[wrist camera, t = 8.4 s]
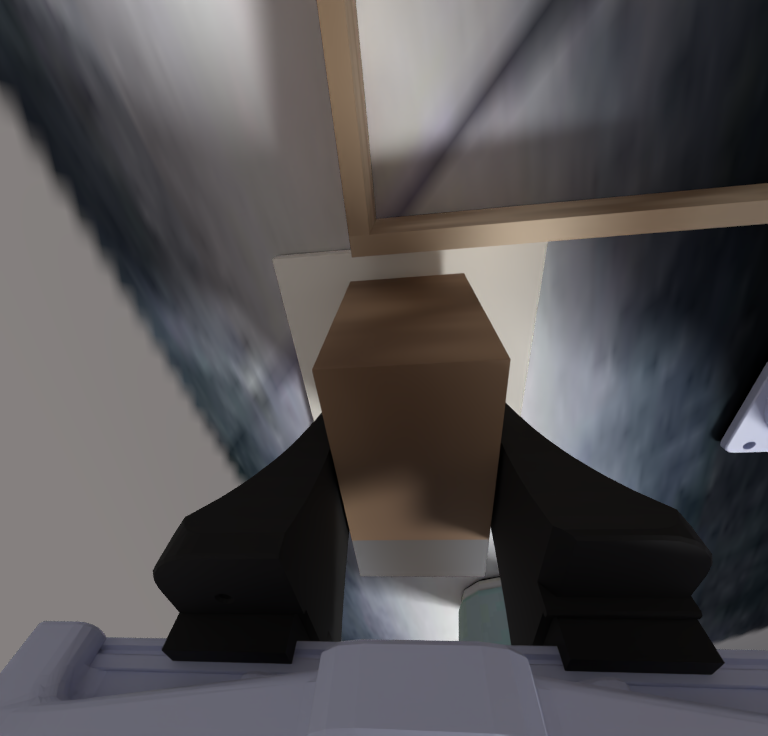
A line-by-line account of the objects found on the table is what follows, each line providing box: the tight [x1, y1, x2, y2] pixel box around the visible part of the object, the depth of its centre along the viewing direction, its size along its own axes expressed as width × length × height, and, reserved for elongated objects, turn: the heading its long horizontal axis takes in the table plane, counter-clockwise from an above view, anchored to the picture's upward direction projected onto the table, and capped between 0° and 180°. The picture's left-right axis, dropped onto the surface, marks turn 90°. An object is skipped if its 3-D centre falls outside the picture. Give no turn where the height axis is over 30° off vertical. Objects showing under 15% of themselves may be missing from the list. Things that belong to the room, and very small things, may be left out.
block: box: [312, 273, 511, 577], centre depth 11 cm, size 4×8×6 cm, turn 5°
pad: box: [272, 242, 548, 421], centre depth 15 cm, size 10×10×1 cm
